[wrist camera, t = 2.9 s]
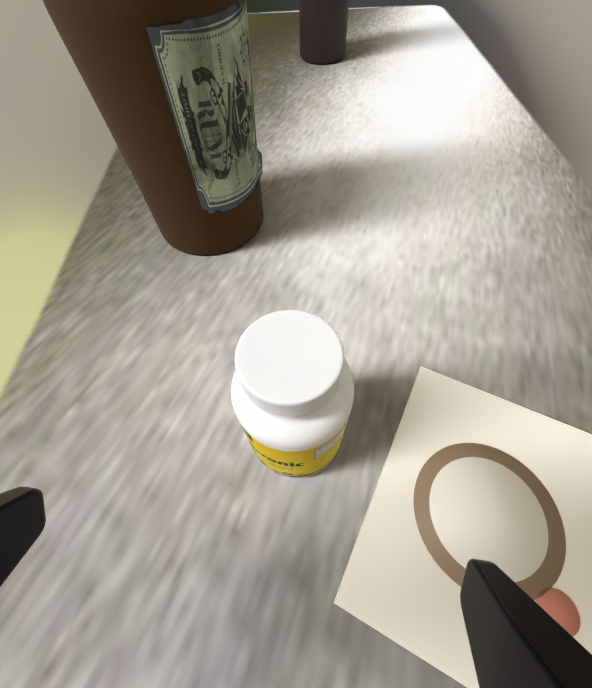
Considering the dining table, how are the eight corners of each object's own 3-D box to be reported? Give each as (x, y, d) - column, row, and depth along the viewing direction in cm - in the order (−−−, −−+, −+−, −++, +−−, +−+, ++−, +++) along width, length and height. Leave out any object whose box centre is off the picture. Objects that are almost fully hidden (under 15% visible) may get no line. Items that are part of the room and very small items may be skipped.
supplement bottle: (233, 436, 20) (183, 355, 12) (294, 377, 22) (287, 272, 14) (299, 503, 18) (292, 460, 10) (359, 431, 20) (395, 345, 12)
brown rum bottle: (130, 232, 31) (-259, -481, 10) (210, 175, 35) (63, -398, 14) (216, 280, 27) (-96, -670, 6) (292, 210, 32) (263, -480, 11)
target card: (593, 766, 13) (601, 772, 13) (333, 602, 16) (334, 603, 16) (605, 444, 20) (611, 441, 19) (419, 369, 22) (421, 365, 22)
